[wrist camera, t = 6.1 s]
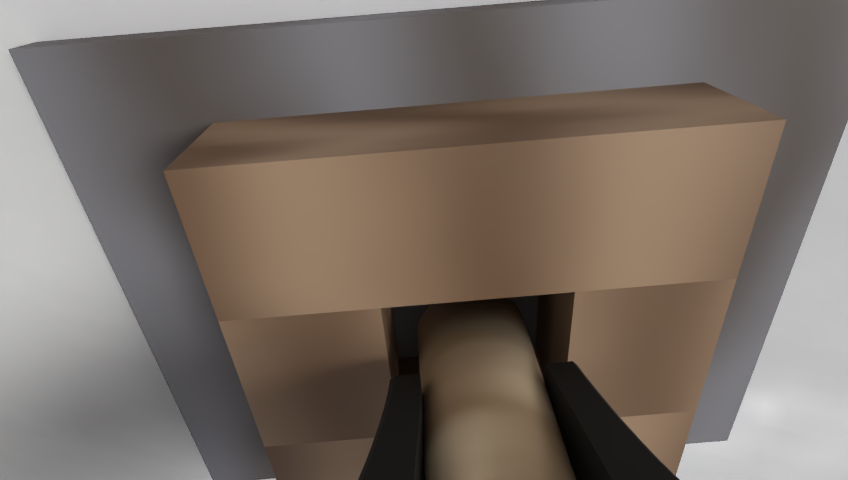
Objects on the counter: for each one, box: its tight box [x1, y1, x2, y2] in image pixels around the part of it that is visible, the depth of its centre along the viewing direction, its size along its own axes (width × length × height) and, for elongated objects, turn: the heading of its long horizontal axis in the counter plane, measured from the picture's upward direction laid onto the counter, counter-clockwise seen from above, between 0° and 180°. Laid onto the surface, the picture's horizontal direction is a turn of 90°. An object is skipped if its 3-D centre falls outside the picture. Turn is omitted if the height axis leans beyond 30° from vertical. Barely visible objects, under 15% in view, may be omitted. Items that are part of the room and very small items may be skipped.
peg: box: [418, 298, 576, 480], centre depth 11 cm, size 3×3×8 cm
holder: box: [9, 0, 848, 480], centre depth 14 cm, size 20×16×4 cm
